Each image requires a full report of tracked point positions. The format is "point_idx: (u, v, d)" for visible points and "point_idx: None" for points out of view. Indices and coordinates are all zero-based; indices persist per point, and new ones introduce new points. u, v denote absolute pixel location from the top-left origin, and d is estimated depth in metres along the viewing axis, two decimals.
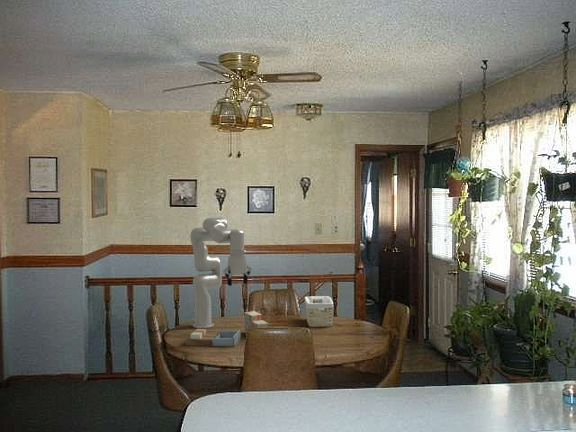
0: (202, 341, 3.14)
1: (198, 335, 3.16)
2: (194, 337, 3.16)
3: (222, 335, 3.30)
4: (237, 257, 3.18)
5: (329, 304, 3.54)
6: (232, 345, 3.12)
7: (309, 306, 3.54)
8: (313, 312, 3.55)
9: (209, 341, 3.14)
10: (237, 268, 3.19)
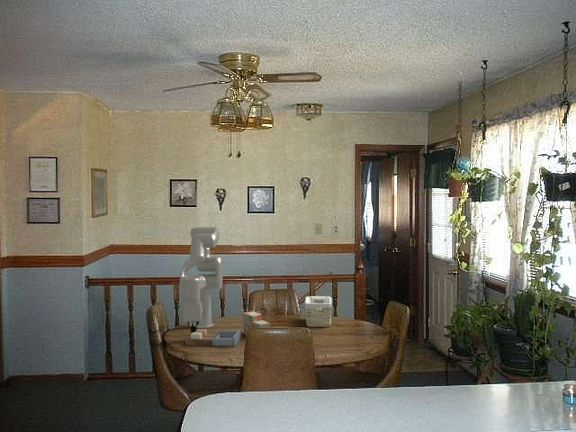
0: (202, 341, 3.14)
1: (198, 335, 3.16)
2: (194, 337, 3.16)
3: (222, 335, 3.30)
4: None
5: (327, 304, 3.54)
6: (232, 345, 3.12)
7: (307, 306, 3.54)
8: (311, 312, 3.55)
9: (209, 341, 3.14)
10: None
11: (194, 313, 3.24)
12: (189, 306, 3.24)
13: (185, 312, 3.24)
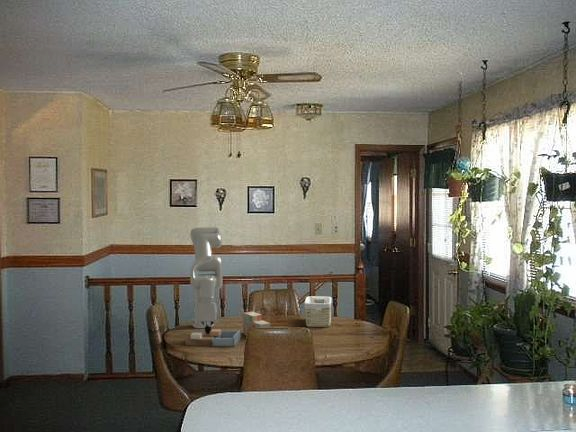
0: (202, 341, 3.14)
1: (198, 335, 3.16)
2: (194, 337, 3.16)
3: (222, 335, 3.30)
4: None
5: (326, 304, 3.53)
6: (232, 345, 3.12)
7: (306, 306, 3.55)
8: (310, 312, 3.55)
9: (209, 341, 3.14)
10: None
11: (209, 313, 3.23)
12: (204, 306, 3.23)
13: (199, 312, 3.23)
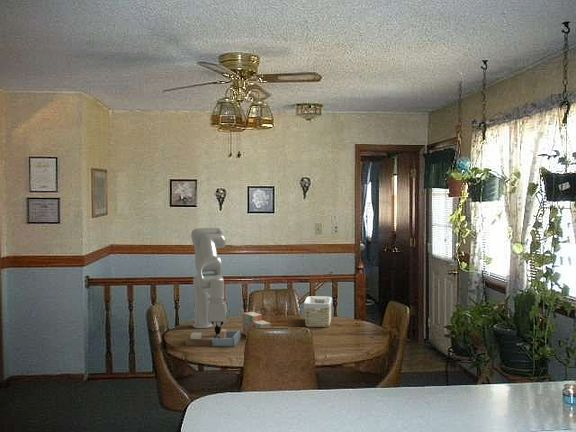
0: (202, 341, 3.14)
1: (198, 335, 3.16)
2: (194, 337, 3.16)
3: None
4: None
5: (325, 304, 3.53)
6: (232, 345, 3.12)
7: (305, 306, 3.55)
8: (309, 312, 3.55)
9: (209, 341, 3.14)
10: None
11: (219, 313, 3.22)
12: (214, 306, 3.22)
13: (209, 312, 3.23)
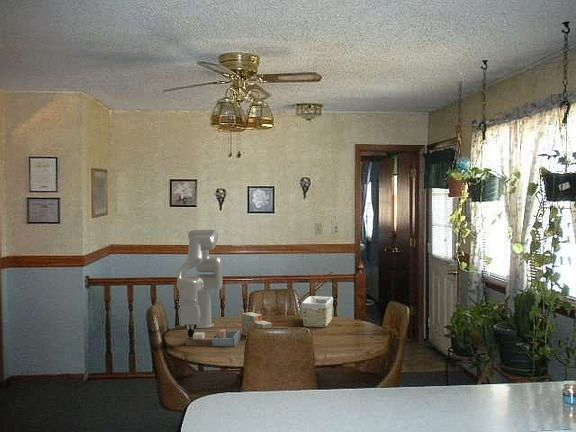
0: (202, 341, 3.14)
1: (200, 335, 3.16)
2: (196, 337, 3.16)
3: None
4: None
5: (322, 305, 3.53)
6: (232, 345, 3.12)
7: (302, 305, 3.56)
8: (307, 312, 3.56)
9: (209, 341, 3.14)
10: None
11: (191, 316, 3.16)
12: (187, 308, 3.16)
13: (182, 315, 3.16)
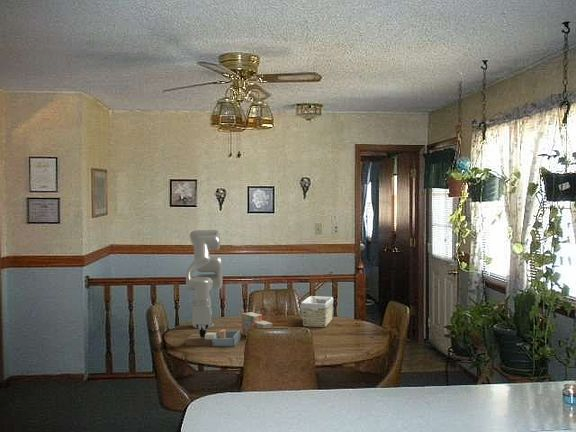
0: (202, 341, 3.14)
1: (212, 335, 3.15)
2: (208, 337, 3.15)
3: None
4: None
5: (321, 305, 3.53)
6: (232, 345, 3.12)
7: (302, 305, 3.56)
8: (306, 312, 3.56)
9: (209, 341, 3.14)
10: None
11: (203, 316, 3.15)
12: (199, 308, 3.15)
13: (194, 315, 3.16)
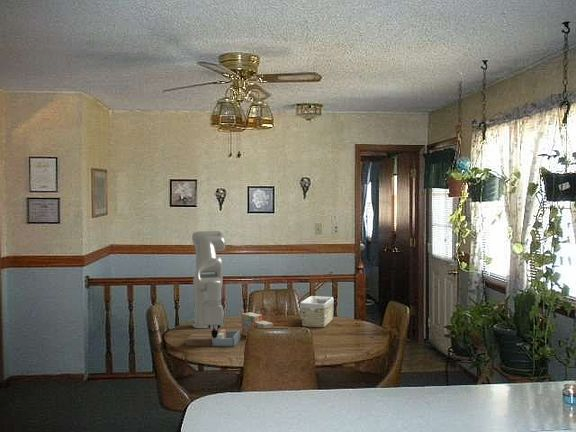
0: (202, 341, 3.14)
1: None
2: (218, 338, 3.15)
3: None
4: None
5: (320, 305, 3.53)
6: (232, 345, 3.12)
7: (301, 305, 3.56)
8: (305, 312, 3.56)
9: (209, 341, 3.14)
10: None
11: (215, 316, 3.14)
12: (211, 309, 3.14)
13: (206, 315, 3.15)
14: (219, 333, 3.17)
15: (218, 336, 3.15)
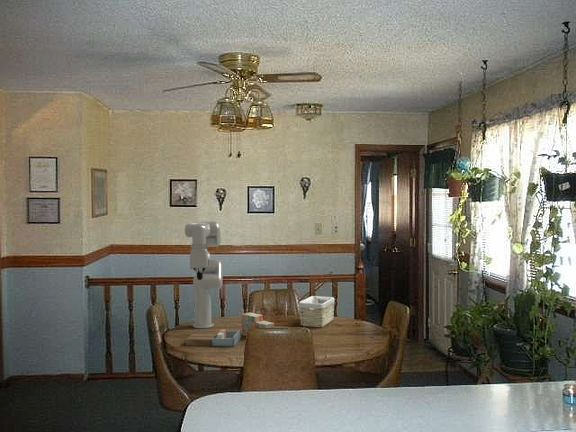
0: (202, 341, 3.14)
1: None
2: (218, 338, 3.15)
3: None
4: None
5: (318, 305, 3.52)
6: (232, 345, 3.12)
7: (299, 305, 3.57)
8: (304, 311, 3.57)
9: (209, 341, 3.14)
10: None
11: (200, 259, 3.30)
12: (196, 252, 3.31)
13: (191, 258, 3.31)
14: (219, 333, 3.17)
15: (218, 336, 3.15)
